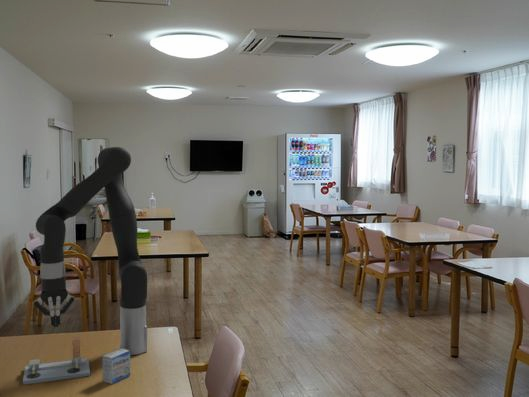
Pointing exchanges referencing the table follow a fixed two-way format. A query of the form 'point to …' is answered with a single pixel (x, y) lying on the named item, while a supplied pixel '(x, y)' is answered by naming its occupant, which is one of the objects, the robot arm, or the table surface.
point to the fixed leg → (34, 365)
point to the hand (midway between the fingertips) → (55, 326)
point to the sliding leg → (76, 351)
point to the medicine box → (116, 366)
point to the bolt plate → (56, 371)
